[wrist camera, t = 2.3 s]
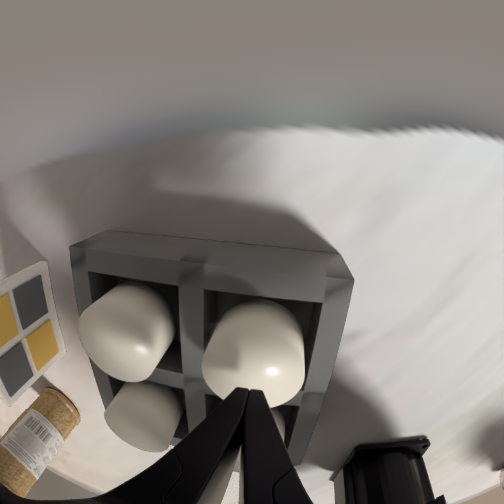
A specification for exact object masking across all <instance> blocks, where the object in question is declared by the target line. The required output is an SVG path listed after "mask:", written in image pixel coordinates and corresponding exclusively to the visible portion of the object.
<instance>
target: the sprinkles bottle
mask: <svg viewBox="0 0 504 504" xmlns="http://www.w3.org/2000/svg"><path fill="white" fill-rule="evenodd" d="M79 423H80V416H79V414H78V411H77V410H76V408H75V407H74V405H73V404H72V403H71V402H70V401H69V400H68V399H67V398H66V397H65V396H63V395H62V394H61V393H59V392H58V391H56V390H54V389H51V388H45V389H44V390H43V391H42V394H41V395H40V396H39V397H38V398H37V399H36V400H35V401H34V402H33V404H31V406H30V407H29V408H28V409H26V410H25V411H24V412H23V413H22V414H21V415H20V416H19V417H18V418H17V420H16V421H15V422H14V423H13V424H12V425H11V426H10V427H9V429H8V431H7V432H6V433H5V434H4V436H3V437H2V438H1V439H0V482H1V483H2V484H3V485H4V486H6V487H7V488H8V489H9V490H10V491H12V492H13V493H14V494H16V495H18V496H20V497H23V498H24V497H25V496H26V494H27V493H28V492H29V490H30V488H31V487H32V485H33V484H34V483H35V481H37V480H38V478H39V477H40V475H41V474H42V473H43V471H44V470H45V468H46V467H47V465H48V464H49V463H50V461H51V460H52V458H53V457H54V456H55V454H56V453H57V452H58V450H59V449H60V448H61V446H62V445H63V443H64V441H65V439H66V438H67V437H68V435H69V434H70V433H71V431H72V430H73V429H74V427H75V426H76V425H78V424H79Z"/></svg>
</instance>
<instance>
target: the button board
mask: <svg viewBox="0 0 504 504" xmlns="http://www.w3.org/2000/svg"><path fill="white" fill-rule="evenodd" d="M69 250H70V259H71V267H72V275H73V281H74V288H75V294H76V300H77V305H78V311H79V316H81V314H82V313H83V311H84V310H85V309H87V308H88V307H89V306H90V305H92V304H93V303H94V302H96V301H97V300H98V299H99V298H101V297H102V296H103V295H105V294H106V293H107V292H109V291H110V290H111V289H113V288H114V287H115V286H117V285H118V284H120V283H123V282H127V281H134V282H140V283H143V284H145V285H147V286H149V287H151V288H153V289H154V290H156V291H157V292H158V293H159V294H160V295H161V296H162V297H163V298H164V299H165V300H166V301H167V303H168V304H169V306H170V307H171V309H172V311H173V314H174V316H175V320H176V334H175V337H174V339H173V341H172V343H171V344H170V346H169V347H168V349H167V350H166V352H165V353H164V355H163V357H162V358H161V360H160V361H159V363H158V364H157V366H156V367H155V369H154V371H153V372H152V374H151V375H150V376H149V377H148V378H147V379H145V380H147V381H151V382H155V383H159V384H163V385H165V386H166V387H168V388H169V389H170V390H172V391H173V392H174V393H175V394H176V395H177V397H178V398H179V399H180V401H181V403H182V406H183V415H182V417H181V419H180V422H179V424H178V426H177V429H176V431H175V433H174V436H173V438H172V440H171V442H170V445H173V446H175V445H177V444H178V443H179V442H180V441H181V440H182V439H183V438H184V437H185V436H186V435H188V434H189V433H190V432H191V431H192V430H193V429H194V428H195V427H196V426H197V425H198V424H199V423H200V422H201V421H202V420H203V419H204V418H206V417H207V416H208V415H209V414H210V413H211V412H212V411H213V410H214V409H215V408H216V407H217V406H218V405H219V404H220V403H221V402H222V401H223V399H222V398H220V397H219V396H218V395H216V394H215V393H214V392H213V391H212V390H211V389H210V387H209V386H208V385H207V383H206V381H205V379H204V377H203V374H202V367H201V365H202V358H203V355H204V353H205V351H206V349H207V347H208V344H209V342H210V340H211V338H212V336H213V333H214V331H215V329H216V327H217V325H218V322H219V320H220V318H221V317H222V315H223V314H224V313H225V312H226V310H228V309H229V308H230V307H232V306H233V305H235V304H237V303H239V302H242V301H245V300H251V299H264V300H270V301H273V302H276V303H278V304H281V305H282V306H284V307H286V308H287V309H288V310H290V311H291V312H292V313H293V314H294V315H295V316H296V318H297V319H298V321H299V322H300V324H301V327H302V331H303V343H304V366H305V377H304V382H303V385H302V387H301V389H300V390H299V391H298V393H297V394H296V395H295V396H294V397H293V398H291V399H290V400H289V401H287V402H285V403H283V404H281V405H279V406H276V407H277V408H278V409H279V410H280V411H281V412H282V413H283V415H284V417H285V436H284V444H285V446H286V449H287V451H288V453H289V456H290V458H291V460H292V463H293V465H301V462H302V460H303V457H304V454H305V452H306V449H307V447H308V444H309V441H310V438H311V436H312V433H313V430H314V427H315V424H316V421H317V419H318V416H319V413H320V410H321V407H322V403H323V400H324V397H325V394H326V391H327V388H328V384H329V381H330V378H331V374H332V371H333V367H334V364H335V360H336V356H337V353H338V349H339V345H340V341H341V337H342V333H343V329H344V325H345V321H346V317H347V312H348V308H349V303H350V299H351V294H352V289H353V284H354V278H353V276H352V274H351V272H350V271H349V269H348V267H347V265H346V263H345V261H344V259H343V258H342V256H341V254H336V253H327V252H318V251H308V250H299V249H289V248H280V247H270V246H260V245H251V244H241V243H231V242H221V241H211V240H201V239H191V238H181V237H170V236H160V235H150V234H139V233H129V232H118V231H104V232H102V233H99V234H97V235H95V236H92V237H90V238H88V239H85V240H83V241H81V242H78V243H76V244H74V245H72V246H69ZM89 359H90V362H91V366H92V369H93V373H94V376H95V380H96V383H97V386H98V389H99V392H100V395H101V398H102V401H103V404H104V407H105V410H106V409H107V407H108V406H109V405H110V403H111V402H112V400H113V399H114V397H115V396H116V395H117V393H118V392H119V390H120V389H121V388H122V386H123V385H124V383H125V382H126V381H122V380H119V379H116V378H114V377H112V376H110V375H109V374H107V373H106V372H104V371H103V370H102V369H100V368H99V367H98V366H97V365H96V364H95V363H94V362H93V361H92V360H91V358H90V357H89Z"/></svg>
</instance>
